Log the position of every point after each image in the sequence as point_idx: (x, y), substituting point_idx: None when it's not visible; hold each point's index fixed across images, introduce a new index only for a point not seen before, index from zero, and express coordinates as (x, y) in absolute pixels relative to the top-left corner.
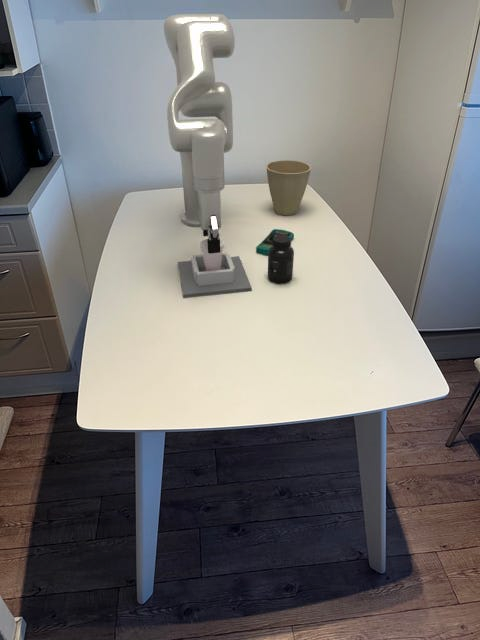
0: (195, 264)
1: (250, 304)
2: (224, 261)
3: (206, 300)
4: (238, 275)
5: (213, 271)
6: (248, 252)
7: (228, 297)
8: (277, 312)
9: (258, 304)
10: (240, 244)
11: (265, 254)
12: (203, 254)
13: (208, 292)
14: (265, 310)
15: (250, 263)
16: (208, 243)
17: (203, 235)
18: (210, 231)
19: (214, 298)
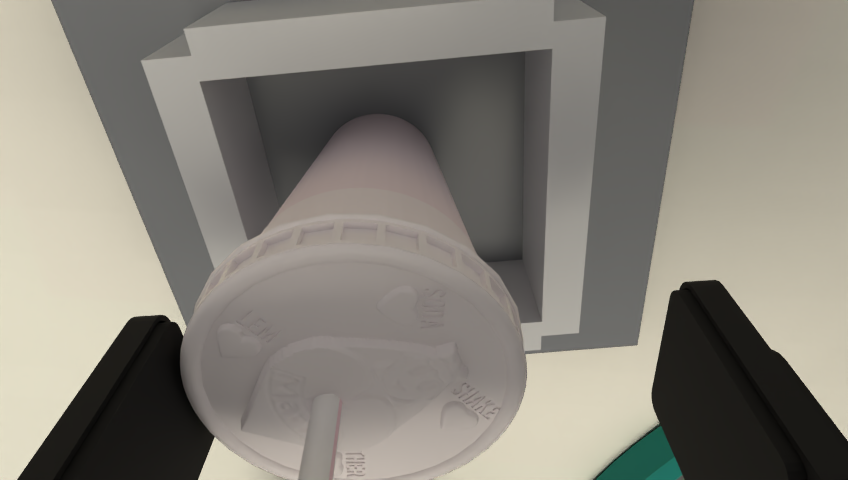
0: (372, 45)
1: (59, 345)
2: (528, 274)
3: (34, 87)
4: None
5: (224, 219)
6: None
7: (114, 239)
8: (14, 442)
9: (70, 379)
10: (836, 348)
11: (629, 454)
12: (298, 207)
13: (102, 116)
14: (16, 401)
15: (553, 379)
16: (53, 450)
17: (687, 284)
18: (683, 414)
19: (79, 148)
